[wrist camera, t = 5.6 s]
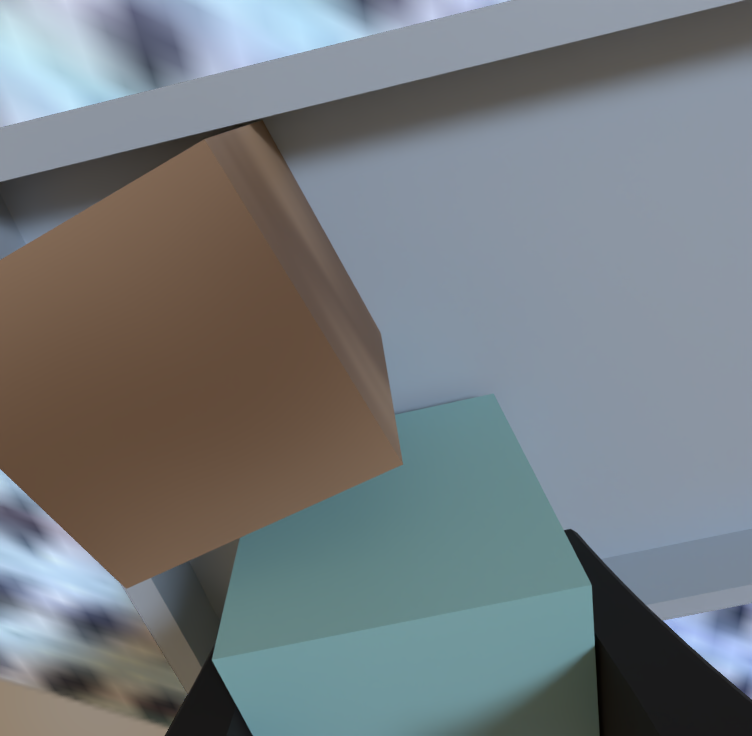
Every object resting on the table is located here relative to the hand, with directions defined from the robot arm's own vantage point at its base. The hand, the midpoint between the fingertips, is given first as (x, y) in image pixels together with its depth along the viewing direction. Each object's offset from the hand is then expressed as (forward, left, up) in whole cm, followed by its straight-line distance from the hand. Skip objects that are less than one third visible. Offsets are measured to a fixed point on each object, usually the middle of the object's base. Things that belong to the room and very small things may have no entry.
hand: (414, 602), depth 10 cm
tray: (+3, -2, -3) cm, 5 cm away
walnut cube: (+5, +2, -3) cm, 6 cm away
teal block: (0, 0, -2) cm, 2 cm away
